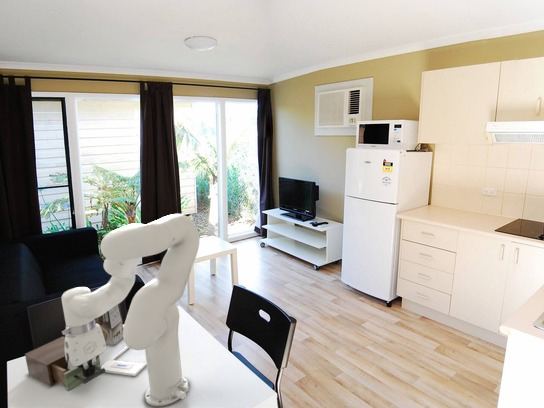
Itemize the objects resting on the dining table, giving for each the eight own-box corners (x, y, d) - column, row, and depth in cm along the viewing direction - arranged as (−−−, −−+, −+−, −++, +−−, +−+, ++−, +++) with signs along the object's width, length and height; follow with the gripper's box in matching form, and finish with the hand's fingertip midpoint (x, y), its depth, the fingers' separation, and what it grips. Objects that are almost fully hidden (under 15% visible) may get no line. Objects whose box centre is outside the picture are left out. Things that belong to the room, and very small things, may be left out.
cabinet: (87, 365, 126) (84, 345, 124) (50, 386, 116) (46, 365, 114) (66, 355, 132) (62, 336, 130) (28, 374, 121) (24, 354, 120)
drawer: (112, 377, 119) (110, 360, 118) (80, 397, 110) (77, 380, 109) (80, 361, 127) (77, 346, 125) (46, 380, 118) (43, 363, 116)
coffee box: (125, 336, 144) (120, 300, 141) (114, 345, 138) (108, 308, 135) (104, 335, 145) (99, 299, 142) (92, 344, 139) (86, 307, 135)
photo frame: (97, 368, 123) (134, 339, 140) (97, 371, 123) (134, 341, 140) (134, 373, 120) (167, 342, 138) (134, 376, 121) (167, 345, 138)
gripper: (62, 341, 103) (71, 395, 107) (112, 317, 116) (119, 365, 120) (47, 335, 106) (57, 387, 110) (98, 312, 120) (105, 359, 123)
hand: (89, 376), depth 115 cm, fingers closed
